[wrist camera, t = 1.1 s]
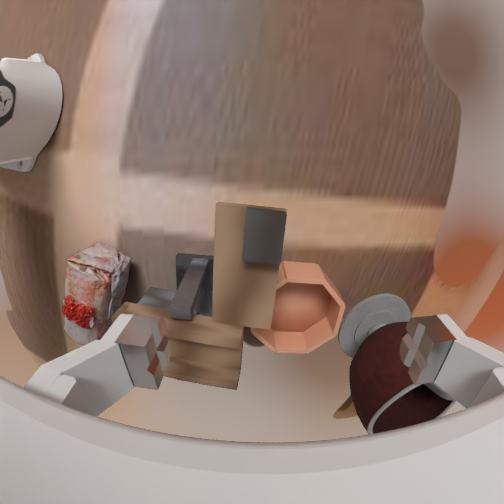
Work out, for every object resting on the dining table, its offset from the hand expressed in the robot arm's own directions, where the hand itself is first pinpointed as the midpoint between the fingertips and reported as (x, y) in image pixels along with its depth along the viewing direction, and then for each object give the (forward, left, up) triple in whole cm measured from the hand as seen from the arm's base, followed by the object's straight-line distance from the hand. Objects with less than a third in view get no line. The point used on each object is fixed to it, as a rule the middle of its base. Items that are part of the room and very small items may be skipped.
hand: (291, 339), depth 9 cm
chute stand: (-7, -14, -25) cm, 30 cm away
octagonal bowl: (+5, -14, -25) cm, 29 cm away
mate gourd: (+20, -18, -26) cm, 37 cm away
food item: (-21, -14, -26) cm, 36 cm away
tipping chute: (-6, -8, -21) cm, 23 cm away
